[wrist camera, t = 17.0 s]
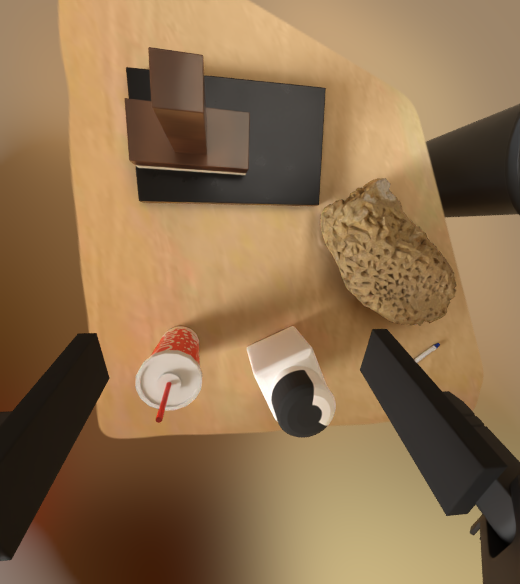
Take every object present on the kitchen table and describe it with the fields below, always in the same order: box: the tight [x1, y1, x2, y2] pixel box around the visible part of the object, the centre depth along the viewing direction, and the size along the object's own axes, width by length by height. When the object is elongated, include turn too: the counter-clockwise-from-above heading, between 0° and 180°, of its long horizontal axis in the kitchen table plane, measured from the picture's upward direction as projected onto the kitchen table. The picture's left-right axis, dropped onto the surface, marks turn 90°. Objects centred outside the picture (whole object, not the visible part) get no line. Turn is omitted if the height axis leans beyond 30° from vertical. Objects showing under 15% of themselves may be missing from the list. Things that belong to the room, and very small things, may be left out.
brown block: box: [125, 47, 250, 175], centre depth 21 cm, size 11×5×12 cm, turn 88°
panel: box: [126, 67, 326, 206], centre depth 28 cm, size 20×12×2 cm, turn 89°
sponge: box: [320, 178, 456, 326], centre depth 32 cm, size 13×8×20 cm
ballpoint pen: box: [414, 343, 440, 363], centre depth 40 cm, size 10×1×1 cm, turn 126°
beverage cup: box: [136, 326, 202, 422], centre depth 27 cm, size 6×6×14 cm
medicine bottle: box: [247, 326, 336, 437], centre depth 31 cm, size 7×7×12 cm
